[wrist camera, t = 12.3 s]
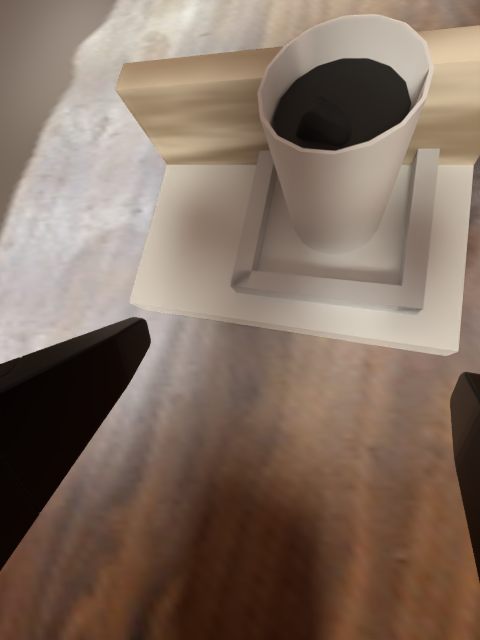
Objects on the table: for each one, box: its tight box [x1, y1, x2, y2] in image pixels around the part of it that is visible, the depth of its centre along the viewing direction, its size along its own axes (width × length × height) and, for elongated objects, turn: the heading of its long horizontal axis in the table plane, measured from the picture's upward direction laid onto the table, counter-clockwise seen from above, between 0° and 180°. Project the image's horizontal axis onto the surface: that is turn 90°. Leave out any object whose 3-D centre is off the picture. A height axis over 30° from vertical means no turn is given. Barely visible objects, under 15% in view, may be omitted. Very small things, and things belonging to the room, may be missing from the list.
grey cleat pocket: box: [129, 149, 474, 356], centre depth 23 cm, size 12×22×4 cm, turn 78°
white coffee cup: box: [257, 14, 434, 255], centre depth 18 cm, size 7×7×10 cm
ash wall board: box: [115, 26, 480, 165], centre depth 22 cm, size 2×22×9 cm, turn 78°
